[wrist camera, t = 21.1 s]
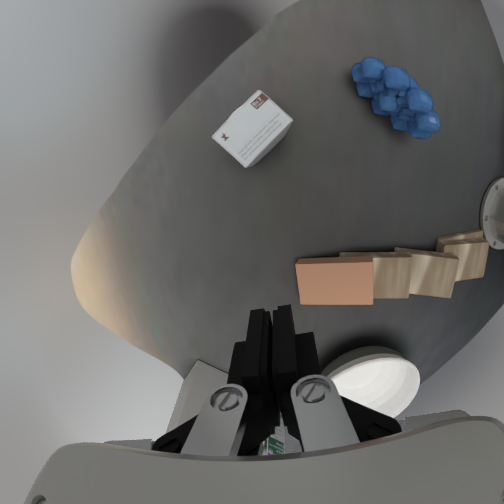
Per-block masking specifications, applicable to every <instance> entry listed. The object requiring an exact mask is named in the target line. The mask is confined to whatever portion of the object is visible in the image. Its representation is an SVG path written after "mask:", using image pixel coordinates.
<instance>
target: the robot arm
mask: <svg viewBox="0 0 504 504" xmlns="http://www.w3.org/2000/svg"><path fill="white" fill-rule="evenodd" d="M480 226H481V230H483V238H484V239H485V240H487V241H489V246H491V247H492V248H494V249H499V250H501V249H504V177H500V178H497V179H496V180H494V181H493V182H492V183H491V184H490V186H489V187H488V189H487V191H486V193H485V195H484V198H483V201H482V205H481V211H480ZM280 411H281V415H282V419H283V423H284V426H287V429H288V433H289V434H290V435H292V436H293V437H295V438H296V439H298V440H299V442H300V446H301V451H302V452H300V453H290V454H278V455H262V454H263V450H264V444H265V442H264V441H265V440H266V439H267V438H268V437H270V436H271V435H273V434H275V427H279V426H280ZM24 504H504V424H503V423H502V422H501V421H499V420H498V419H495V418H492V417H487V416H470V415H469V414H467V413H466V412H464V411H461V410H451V411H446V412H440V413H434V414H427V415H420V416H412V417H405V420H400V421H397V420H395V419H394V418H392V417H390V416H387V415H385V414H382V413H380V412H378V411H375V410H373V409H370V408H368V407H366V406H363V405H361V404H359V403H357V402H354V401H352V400H350V399H348V398H345V397H343V396H341V395H339V393H338V390H337V388H336V386H335V384H334V382H333V381H332V380H331V379H330V378H328V377H326V376H323V375H321V373H320V367H319V361H318V355H317V350H316V344H315V339H314V334H313V332H309V333H303V334H295V328H294V322H293V315H292V309H291V304H290V305H283V306H278V310H273V326H272V321H271V316H270V312H269V311H266V312H265V310H264V308H263V309H256V310H251V311H250V317H249V324H248V331H247V337H246V341H242V342H236V343H235V345H234V350H233V355H232V360H231V365H230V369H229V374H228V379H227V384H225V385H221V386H218V387H216V388H215V389H213V390H212V391H211V392H210V393H209V394H208V396H207V397H206V399H205V401H204V404H203V406H202V408H201V410H200V412H199V414H198V415H196V416H194V417H193V418H191V419H190V420H188V421H186V422H185V423H183V424H181V425H180V426H178V427H176V428H175V429H173V430H171V431H170V432H168V433H166V434H165V435H163V436H161V437H160V438H159V439H157V440H156V441H153V440H152V439H143V440H126V441H125V440H124V441H108V442H105V443H75V444H69V445H66V446H62V447H61V448H59V449H57V450H56V451H55V452H54V453H53V454H52V455H51V457H50V458H49V460H48V461H47V462H46V464H45V465H44V467H43V468H42V470H41V472H40V473H39V475H38V477H37V479H36V480H35V483H34V484H33V486H32V488H31V490H30V492H29V494H28V496H27V498H26V500H25V503H24Z"/></svg>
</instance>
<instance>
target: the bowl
mask: <svg viewBox="0 0 504 504" xmlns="http://www.w3.org/2000/svg"><path fill="white" fill-rule="evenodd" d="M321 375H323V376H326V377H328V378H330V379H331V380H332V381H333V382H334V384H335V386H336V388H337V390H338V393H339V395H341V396H343V397H345V398H348V399H350V400H352V401H354V402H357V403H359V404H361V405H363V406H366V407H368V408H370V409H373V410H375V411H378V412H380V413H382V414H385V415H387V416H390V417H392V418H394V417H395V416H397V415H398V414H399V413H401V412H402V411H403V410H404V409H405V408H406V407H407V406H408V405H409V404H410V402H411V401H412V400H413V398H414V397H415V395H416V393H417V391H418V388H419V384H420V375H419V371H418V370H417V368H416V367H415V365H413V364H412V363H411V362H409V361H407V360H406V358H405V357H404V356H403V355H402V354H401V353H399V352H398V351H396V350H393V349H390V348H387V347H383V346H366V347H360V348H357V349H354V350H351V351H349V352H347V353H345V354H342V355H341V356H339V357H338V358H336V359H335V360H333V361H332V362H331V363H330V364H329V365H327V366H326V368H325V369H324V370H323V371H322V373H321Z"/></svg>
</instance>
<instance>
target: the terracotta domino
mask: <svg viewBox="0 0 504 504" xmlns="http://www.w3.org/2000/svg"><path fill="white" fill-rule="evenodd" d="M295 266H296V273H297V280H298V288H299V296H300V303H301V304H312V305H373V256H357V257H328V258H299V259H298V261H297V262H296V264H295Z"/></svg>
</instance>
